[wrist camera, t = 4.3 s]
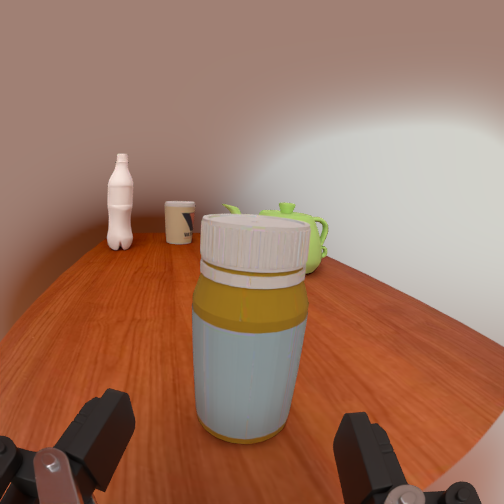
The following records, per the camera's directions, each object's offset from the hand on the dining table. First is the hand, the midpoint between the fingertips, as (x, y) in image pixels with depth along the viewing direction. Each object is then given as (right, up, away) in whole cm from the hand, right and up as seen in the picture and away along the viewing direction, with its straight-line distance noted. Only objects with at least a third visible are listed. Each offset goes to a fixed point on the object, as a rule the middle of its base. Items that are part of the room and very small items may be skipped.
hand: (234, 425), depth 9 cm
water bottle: (-35, +7, +61) cm, 70 cm away
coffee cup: (-21, +9, +75) cm, 78 cm away
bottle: (0, -7, +10) cm, 12 cm away
